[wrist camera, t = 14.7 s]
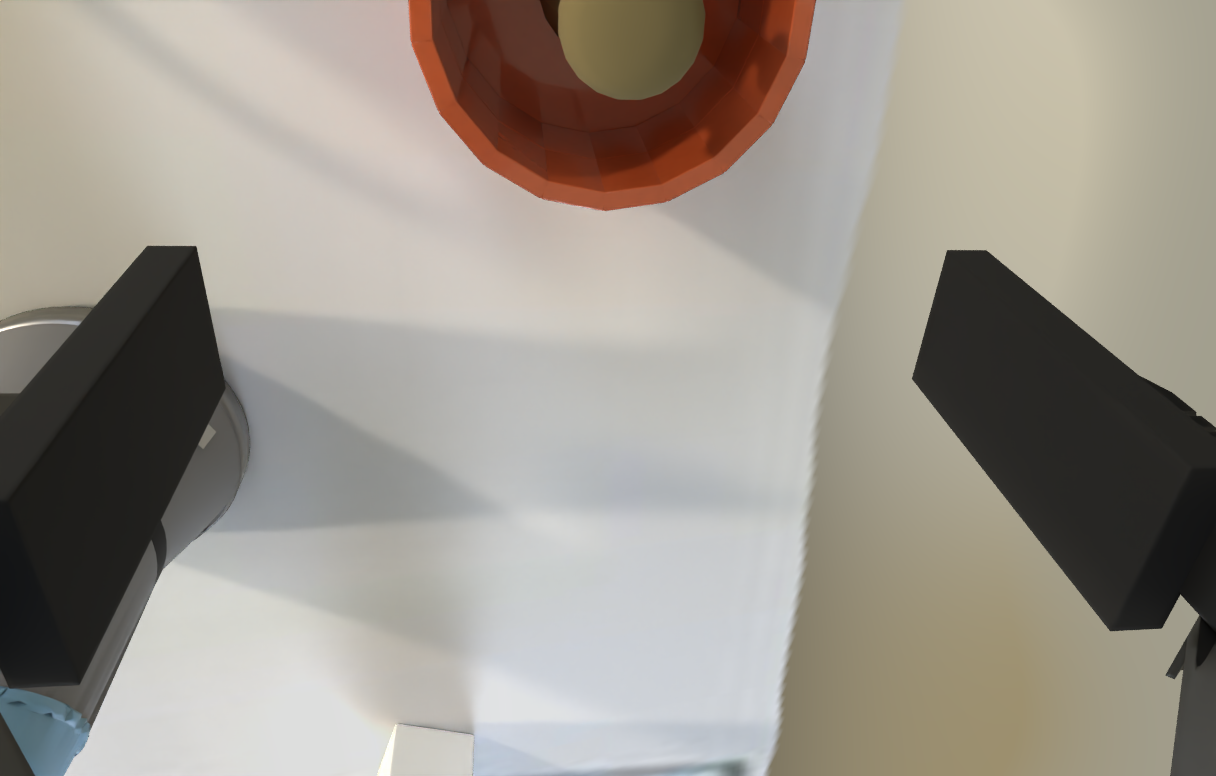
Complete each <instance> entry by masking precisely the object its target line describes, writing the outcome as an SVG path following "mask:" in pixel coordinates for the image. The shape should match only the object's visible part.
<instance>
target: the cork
mask: <svg viewBox="0 0 1216 776" xmlns="http://www.w3.org/2000/svg"><path fill="white" fill-rule="evenodd" d="M540 2H541V6H542V9H543V12H544V15H545V18H546V20H547V21H548V23H549V24H550V26H551V27H552V29H553V30H554V32H555V33H556V35H557V36H558V37H559V38H560V41H561V45H562V48H563V51H564V55H565V58H566V60H567V61H568V63H569V64H570V66H571V67H572V69H573V70H574V72H575V73H576V75H577V76H578V78H579V79H581V80H582V81H583V82H584V83H586V84H587V85H588V86H589V87H591V88H592V89H593V90H595V91H596V92H598V93H601V94H603V95H606V96H609V97H612V98H615V99H618V100H642V99H646V98H649V97H652V96H655V95H658V94H662V93H663V92H664V91H666V90H667V89H669V88H670V87H672V86H673V85H674V84H676V83H677V82H679V81H680V80H681V79H682V77H683V76H684V75H685V74H686V72H687V71H688V70H689V68H690V67H691V66H692V65H693V63H694V61H695V59H696V56H697V54H698V51H699V49H700V46H701V44H702V41H703V36H704V25H705V9H704V4H703V0H540Z"/></svg>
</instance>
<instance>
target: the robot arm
mask: <svg viewBox="0 0 1216 776" xmlns="http://www.w3.org/2000/svg"><path fill="white" fill-rule="evenodd" d="M912 379H913V381H914V382H915V383H916V385H917V386H918V387H919V388H920V390H921V391H922V392H923V393H924V395H925V396H926V397H927V399H928V400H929V401H930V402H931V404H932V405H933V406H934V408H935V409H936V410H937V411H938V413H939V414H940V415H941V416H942V418H943V419H944V420H945V422H946V423H947V424H948V425H949V427H950V428H951V429H952V430H953V432H954V433H955V434H956V436H957V437H958V438H959V439H960V440H961V442H962V443H963V444H964V446H965V447H966V448H967V449H968V451H969V452H970V453H971V455H972V456H973V457H974V458H975V459H976V461H977V462H978V464H979V465H980V466H981V467H982V469H983V470H984V471H985V472H986V474H987V475H988V476H989V478H990V479H991V480H992V481H993V483H994V484H995V485H996V486H997V488H998V489H999V490H1000V491H1001V493H1002V494H1003V495H1004V497H1005V498H1006V499H1007V500H1008V502H1009V503H1010V504H1011V505H1012V507H1013V508H1014V509H1015V511H1016V512H1017V513H1018V514H1019V516H1020V517H1021V518H1022V519H1023V521H1024V522H1025V523H1026V525H1027V526H1028V527H1029V528H1030V530H1031V531H1032V532H1033V534H1034V535H1035V536H1036V537H1037V539H1038V540H1039V541H1040V542H1041V544H1042V545H1043V546H1044V548H1045V549H1046V550H1047V551H1048V553H1049V554H1050V555H1051V556H1052V558H1053V559H1054V560H1055V561H1056V563H1057V564H1058V565H1059V567H1060V568H1061V569H1062V570H1063V572H1064V573H1065V574H1066V576H1067V577H1068V578H1069V579H1070V581H1071V582H1072V583H1073V584H1074V585H1075V587H1076V588H1077V590H1078V591H1079V592H1080V593H1081V594H1082V596H1083V597H1084V598H1085V600H1086V601H1087V602H1088V604H1089V605H1090V606H1091V607H1092V609H1093V610H1094V611H1095V612H1096V614H1097V615H1098V616H1099V617H1100V619H1101V620H1102V621H1103V623H1104V624H1105V625H1106V626H1107V628H1108V629H1109V630H1110V631H1120V630H1121V631H1123V630H1141V629H1161V628H1162V627H1163V625H1164V623H1165V621H1166V620H1167V618H1168V616H1169V614H1170V612H1171V611H1172V609H1173V607H1174V605H1175V603H1176V601H1177V600H1178V598H1179V596H1180V594H1181V595H1182V596H1183V597H1184V598H1185V600H1186V601H1187V602H1188V603H1189V604H1190V605H1191V606H1192V607H1193V608H1194V610H1195V611H1196V612H1198V614H1199V617H1198V619H1197V621H1196V622H1195V624H1194V626H1193V628H1192V629H1191V631H1190V633H1189V635H1188V636H1187V638H1186V640H1185V642H1184V643H1183V645H1182V647H1181V649H1180V651H1179V652H1178V654H1177V656H1176V658H1175V659H1174V661H1173V663H1172V665H1171V666H1170V668H1169V670H1168V672H1167V673H1166V676H1168V677H1170V678H1173V679H1175V678H1176V676H1177V675H1178V673H1179V672H1180V670H1183V677H1182V685H1181V694H1180V702H1179V711H1178V718H1177V726H1176V734H1175V742H1174V750H1173V759H1172V767H1171V775H1170V776H1216V427H1214V426H1213V425H1212V424H1211V423H1209V422H1208V421H1207V420H1206V419H1204V418H1203V417H1202V416H1196V412H1195V411H1194V410H1193V409H1192V408H1191V407H1189V406H1188V405H1187V404H1186V403H1184V402H1183V401H1182V400H1181V399H1180V398H1178V397H1177V396H1176V395H1175V394H1173V393H1172V392H1170V391H1168V390H1166V389H1164V388H1162V387H1160V386H1158V385H1156V384H1155V383H1153V382H1151V381H1149V380H1147V379H1145V378H1143V377H1141V376H1139V375H1137V374H1136V373H1135V372H1134V371H1133V370H1132V369H1130V368H1129V367H1128V366H1126V365H1125V364H1124V363H1123V362H1122V361H1121V360H1119V359H1118V358H1117V357H1115V356H1114V355H1113V354H1112V353H1111V352H1110V351H1108V350H1107V349H1106V348H1105V347H1103V346H1102V345H1101V344H1099V343H1098V342H1097V341H1096V340H1095V339H1094V338H1092V337H1091V336H1090V335H1089V334H1088V333H1086V332H1085V331H1084V330H1083V329H1081V328H1080V327H1079V326H1078V325H1077V324H1075V323H1074V322H1073V321H1072V320H1071V319H1069V318H1068V317H1067V316H1066V315H1064V314H1063V313H1062V312H1061V311H1060V310H1058V309H1057V308H1056V307H1055V306H1053V305H1052V304H1051V303H1050V302H1049V301H1047V300H1046V299H1045V298H1044V297H1042V296H1041V295H1040V294H1039V293H1038V292H1036V291H1035V290H1034V289H1033V288H1031V287H1030V286H1029V285H1028V284H1027V283H1025V282H1024V281H1023V280H1022V279H1021V278H1019V277H1018V276H1017V275H1015V274H1014V273H1013V272H1012V271H1011V270H1009V269H1008V268H1007V267H1006V266H1005V265H1003V264H1002V263H1001V262H1000V261H999V260H997V259H996V258H995V257H994V256H993V255H991V254H990V253H989V252H988V251H986V250H984V251H983V250H947V253H946V256H945V260H944V264H943V268H942V271H941V275H940V278H939V282H938V286H937V289H936V293H935V297H934V300H933V304H932V308H931V312H930V315H929V318H928V322H927V326H926V329H925V333H924V337H923V340H922V344H921V348H920V352H919V355H918V359H917V362H916V366H915V370H914V373H913V377H912ZM249 453H250V439H249V431H248V426H247V422H246V418H245V416H244V413H243V410H242V408H241V406H240V404H239V402H238V400H237V398H236V396H235V394H234V393H233V391H232V390H231V388H230V386H229V385H228V384H227V382H226V381H225V380H224V377H223V372H222V367H221V362H220V358H219V353H218V348H217V343H216V338H215V334H214V329H213V324H212V319H211V314H210V310H209V305H208V300H207V295H206V290H205V286H204V281H203V276H202V271H201V266H200V262H199V257H198V252H197V247H196V246H147V247H146V248H145V249H144V250H143V252H142V253H141V254H140V255H139V256H138V257H137V258H136V260H135V261H134V262H133V263H132V264H131V265H130V267H129V268H128V269H127V270H126V271H125V272H124V274H123V275H122V276H121V277H120V278H119V279H118V280H117V282H116V283H115V284H114V285H113V286H112V287H111V289H110V290H109V291H108V292H107V293H106V294H105V295H104V297H103V298H102V299H101V300H100V301H99V302H98V304H97V305H96V306H95V307H94V308H93V309H92V308H85V307H50V308H42V309H36V310H31V311H26V312H22V313H19V314H16V315H13V316H10V317H8V318H6V319H3V320H1V321H0V776H64V774H65V772H66V771H67V769H68V767H69V765H70V763H71V762H72V760H73V758H74V757H75V756H76V755H77V754H78V753H79V752H81V750H82V749H83V748H84V746H85V743H86V742H87V739H88V737H89V732H90V730H91V728H92V725H93V723H94V721H95V719H96V716H97V714H98V712H99V710H100V707H101V705H102V703H103V701H104V698H105V696H106V694H107V692H108V689H109V687H110V685H111V683H112V680H113V678H114V676H115V674H116V671H117V669H118V667H119V665H120V662H121V660H122V658H123V656H124V654H125V651H126V649H127V647H128V645H129V642H130V640H131V638H132V636H133V633H134V631H135V629H136V627H137V624H138V622H139V620H140V618H141V615H142V613H143V611H144V609H145V606H146V604H147V602H148V600H149V597H150V595H151V593H152V591H153V588H154V586H155V584H156V582H157V580H158V578H159V576H160V574H161V572H162V570H163V569H164V568H165V567H166V566H167V565H168V564H169V563H170V562H171V561H172V560H173V559H174V558H175V557H176V556H177V555H178V554H179V553H181V552H182V551H183V550H184V549H185V548H186V547H187V546H188V545H189V544H190V543H191V542H192V541H193V540H195V539H197V538H198V537H199V536H201V535H202V534H203V533H204V532H206V531H207V530H208V529H209V528H210V527H211V526H213V525H214V524H215V523H216V522H217V521H218V520H219V519H220V518H221V517H222V516H223V515H224V513H225V512H226V511H227V510H228V508H229V507H230V505H231V503H232V502H233V500H234V498H235V496H236V493H237V491H238V488H239V486H240V484H241V481H242V479H243V476H244V474H245V472H246V468H247V464H248V460H249Z"/></svg>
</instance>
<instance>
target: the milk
mask: <svg viewBox="0 0 1216 776" xmlns="http://www.w3.org/2000/svg"><path fill="white" fill-rule="evenodd" d="M473 759H474V735H472V734H465V733H458V732H451V731H444V730H438V729H431V728H424V727H417V726H410V725H404V724H396V725H395V728H394V731H393V733H392V736H391V739H390V741H389V744H388V747H387V750H386V752H385V755H384V758H383V760H382V763H381V766H380V768H379V771H378V776H473Z"/></svg>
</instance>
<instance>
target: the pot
mask: <svg viewBox="0 0 1216 776" xmlns="http://www.w3.org/2000/svg"><path fill="white" fill-rule="evenodd" d="M408 3H409V21H410V39H411V42H412V47H413V50H414V52H415V55H416V57H417V60H418V62H419V65H420V67H421V70H422V72H423V75H424V77H425V80H426V82H427V85H428V87H429V90H430V92H431V95H432V97H433V100H434V102H435V105H436V107H437V110H438V111H439V114H440V115H441V116H442V117H443V118H444V120H445V121H446V122H447V123H448V124H449V125H450V127H451V128H452V129H453V130H454V131H455V132H456V134H457V135H458V136H459V137H460V138H461V139H462V141H463V142H464V143H465V144H466V145H467V146H468V148H469V149H470V150H471V151H472V152H473V153H474V155H475V156H476V157H477V158H478V159H479V161H480V162H481V163H482V164H483V165H485V166H486V167H487V168H489V169H491V170H493V171H494V172H496V173H498V174H499V175H501V176H503V177H504V178H506V179H508V180H510V181H511V182H513V183H515V184H516V185H518V186H520V187H522V188H523V189H525V190H527V191H528V192H530V193H532V194H533V195H535V196H537V197H539V198H542V199H544V200H549V201H554V202H559V203H564V204H569V205H574V206H579V207H585V208H590V209H595V210H600V211H603V210H604V211H609V210H616V209H622V208H629V207H636V206H643V205H650V204H657V203H664V202H666V201H670V200H672V199H674V198H676V197H678V196H680V195H682V194H684V193H686V192H688V191H689V190H691V189H693V188H695V187H697V186H699V185H701V184H703V183H705V182H707V181H709V180H711V179H713V178H715V177H717V176H719V175H721V174H723V173H724V172H726V171H727V170H728V169H729V168H730V167H731V166H732V165H733V164H734V163H735V162H736V161H737V160H738V159H739V158H740V157H741V156H742V155H743V154H744V153H745V152H746V151H747V150H748V149H749V148H750V147H751V146H752V145H753V144H754V143H755V142H756V141H757V140H758V139H759V138H760V137H761V136H762V135H763V134H764V133H765V132H766V131H767V130H768V129H769V128H770V127H771V125H772V124H773V123H774V121H775V119H776V117H777V115H778V113H779V111H780V109H781V107H782V105H783V104H784V102H785V100H786V98H787V96H788V94H789V92H790V90H791V88H792V86H793V84H794V82H795V80H796V78H797V76H798V75H799V73H800V71H801V69H802V67H803V65H804V63H805V59H806V55H807V50H808V44H809V38H810V32H811V26H812V21H813V15H814V9H815V3H816V0H703V4H704V9H705V25H704V36H703V41H702V44H701V46H700V49H699V51H698V54H697V56H696V59H695V61H694V63H693V65H692V66H691V67H690V68H689V70H688V71H687V72H686V74H685V75H684V76H683V77H682V79H681V80H680V81H679V82H677V83H676V84H674V85H673V86H672V87H670V88H669V89H667V90H666V91H664V92H663V93H662V94H658V95H655V96H652V97H649V98H646V99H642V100H618V99H615V98H612V97H609V96H606V95H603V94H601V93H598V92H596V91H595V90H593V89H592V88H591V87H589V86H588V85H587V84H586V83H584V82H583V81H582V80H581V79H579V78H578V76H577V75H576V73H575V72H574V70H573V69H572V67H571V66H570V64H569V63H568V61H567V60H566V58H565V55H564V51H563V48H562V45H561V41H560V38H559V37H558V36H557V35H556V33H555V32H554V30H553V29H552V27H551V26H550V24H549V23H548V21H547V20H546V18H545V15H544V12H543V9H542V6H541V2H540V0H408Z"/></svg>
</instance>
